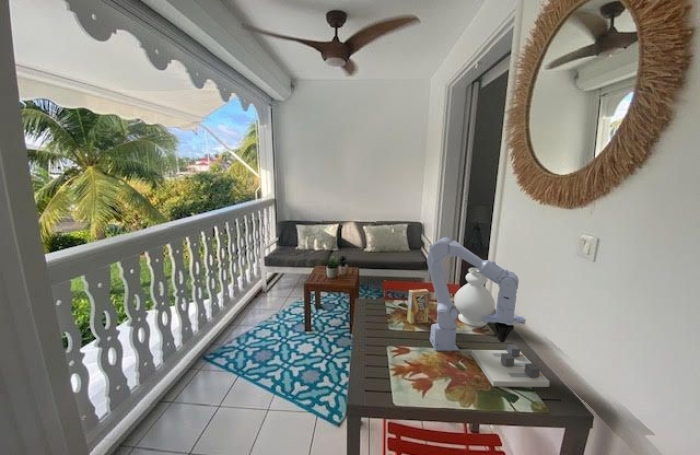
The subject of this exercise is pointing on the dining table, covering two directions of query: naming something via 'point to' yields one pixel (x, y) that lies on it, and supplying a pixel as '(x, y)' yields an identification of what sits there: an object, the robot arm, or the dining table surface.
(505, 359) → the dark gray cube
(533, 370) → the gray cube
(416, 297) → the candy box
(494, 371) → the switch panel
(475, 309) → the decorative vase
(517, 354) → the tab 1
